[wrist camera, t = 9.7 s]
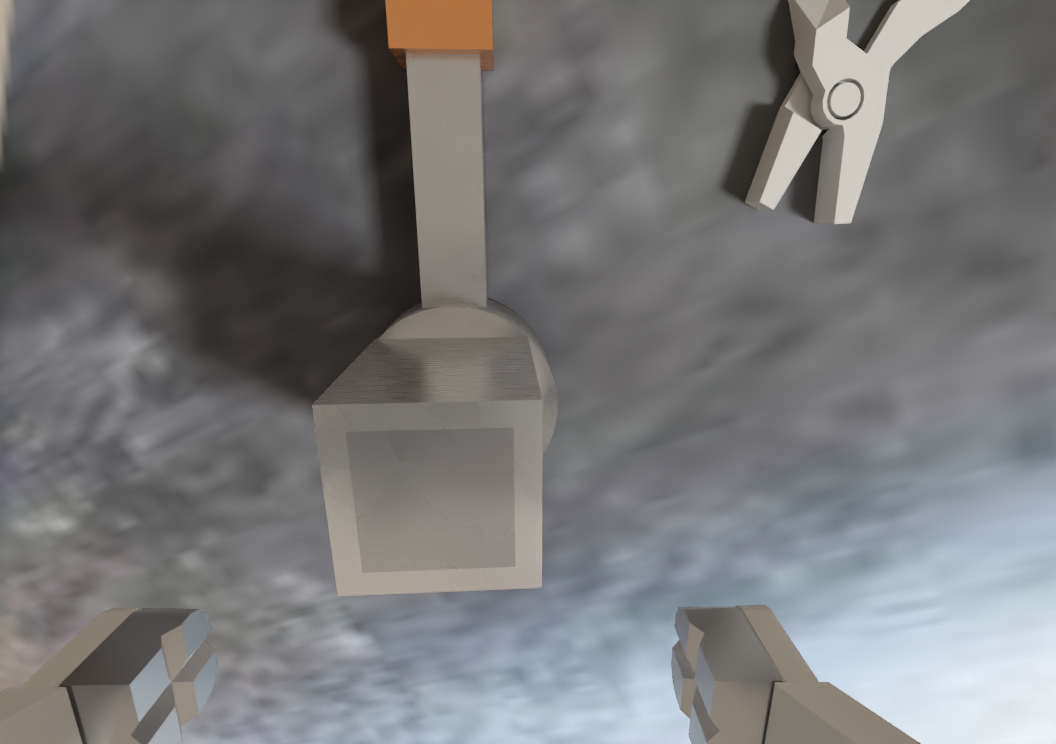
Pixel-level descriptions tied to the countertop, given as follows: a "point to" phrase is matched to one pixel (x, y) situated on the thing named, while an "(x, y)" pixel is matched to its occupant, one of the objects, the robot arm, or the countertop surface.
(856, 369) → the countertop surface
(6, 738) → the robot arm
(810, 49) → the pliers
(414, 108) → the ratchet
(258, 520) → the countertop surface
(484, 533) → the white open box
